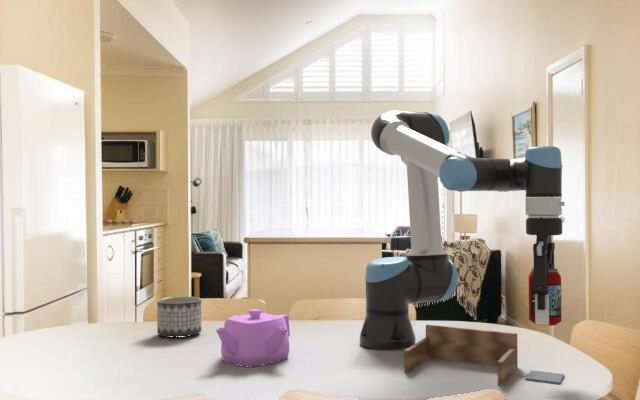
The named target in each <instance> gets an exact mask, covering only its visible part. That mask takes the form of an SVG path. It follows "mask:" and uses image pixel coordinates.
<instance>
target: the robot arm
mask: <svg viewBox="0 0 640 400" xmlns="http://www.w3.org/2000/svg"><path fill="white" fill-rule="evenodd" d="M370 129H371V131H370V134H371V135H370V136H371V140H372V142H373V144H374V146H375V147H376V149H377V148H378V149H379V150H380V151H381V152H383V153H385V154H387V155H390V156H399V157H400V160H401V162H402V163H404V165H405V166H406V174H407V178H406V179H407V193H408V197H407V198H408V209H409V211H408V212H409V214H408V215H409V228H410V229H409V232H410V250H409V251H408V252H407V253H406V254H405V256H392V257H391V256H388V257H387V256H386V257H382V258H380V257H379V258H376V259H373V260H370V261H369V262H368V263H367V264H366V268H365V276H364V280H365V319H364V321H363V324H362V328H361V330H360V331H361V332H360V334H359V344H360V346H362V347H364V348H368V349H372V350H380V351H381V350H382V351H398V350H399V351H400V350H406V349H408V348H409V347H411V346H412V345H414V344H416V334H415V331H414V328H413V325H412V323H411V319H410V313H409V310H410V309H409V304H418V303H428V302H431V303H432V302H433V303H436V302H438V301H439V302H440V301H444V300H447V299H449V298H450V297H451V296H452V295H453V294H454V293H455V291H456V288H457V286H458V281H459V279H458V278H459V275H458V270H457V267H456V266H455V265H456V264H455V263H454V262H453V261H452V259H451V260H450V259H449V255H448V253H449V252H447V251H446V250H445V249H444V248H443V245H442V244H443V243H442V230H441V229H442V228H441V213H440V212H441V211H440V210H441V209H440V197H439V182H440V183H441V184H442V186H443V187H444V188H445V189H446V190H447V191H456V192H461V193H462V192H477V191H478V192H501V193H502V192H505V193H506V192H516V191H520V192H521V191H525V215H526V216H528V217H527V218H526V219H525V233H526V234H527V235H529V236H536V241H535V243H533V247H532V250H533V252H532V254H533V268H534V280H533V291H531V294H535V325H537V324H538V325H537V326H543V325H549V294H548V270H549V268H554V269H555V249H556V247H555V246H556V245H555V242H553V241H552V240H553V239H552V236H561V235H562V234H563V219H562V218H560V216H562V214H563V211H562V210H563V209H562V207H564V206H566V205H565V204H566V203H565V201H562V200H563V199H562V195H563V193H562V192H563V191H562V189H563V188H562V187H563V186H562V183H563V182H562V181H563V180H562V179H563V163H562V152H561V149H560V148H559V147H557V146H552V145H551V146H550V145H549V146H547V145H546V146H545V145H544V146H543V145H542V146H530V147H527V148H525V153H524V154H525V155H524V157H521V158H520V157H519V158H495V157H494V158H490V157H489V158H488V157H487V158H486V157H474V156H471V155H470V156H469V155H467V154H465V153H462V152H461V151H458V150H456V149H454V148H452V147H450V146H448V144H449V142H450V131H449V127H448V124H447V122H446V121H445V120H444V119H443V118H442V116H440V115H438V114H436V113H430V112H426V111H425V112H422V111H421V112H419V111H404V110H403V111H402V110H389V111H386V112H384V113H382V114H380V115H379V116H378V117H377V118H376V119H375V120H374V122H373V123H372V126H371V128H370ZM438 178H439V179H438ZM438 180H439V181H438Z"/></svg>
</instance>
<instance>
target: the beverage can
mask: <svg viewBox="0 0 640 400" xmlns="http://www.w3.org/2000/svg"><path fill="white" fill-rule="evenodd" d="M533 280H534V267H532V268H531V271H530V273H529V275H528V318H529V319H528V320H529V321H530V322H532V323H533V324H535V294H531V291H533ZM548 294H549V325H542V326H544V327H546V326H547V327H551V326H552V327H553V326H556V325H558V324H560V323H561V322H562V276H561V274H560V273H559V269H558V268H555V267H554V268H549V270H548ZM535 325H537V326H539V325H538V324H535Z"/></svg>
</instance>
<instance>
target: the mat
mask: <svg viewBox="0 0 640 400" xmlns="http://www.w3.org/2000/svg"><path fill="white" fill-rule="evenodd" d="M564 377H565V374H564V373H557V372H548V371H541V370H530V371H529V373H528V374H527V375H526V377H525V381H531V382H539V383H545V384H553V383H554V385H561V383H562V381H563V380H564V379H563V378H564Z"/></svg>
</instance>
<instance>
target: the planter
mask: <svg viewBox="0 0 640 400" xmlns="http://www.w3.org/2000/svg"><path fill="white" fill-rule="evenodd" d="M156 302H157V303H156V311H157V312H156V315H157V317H156V319H157V321H156V322H157V324H156V325H157V329H156V330H157V331H156V333H157V334H158V335H160V336H163V337H166V336H173V337H176V336H177V337H178V336H188V335H192V336H193V335H197V334H199V333H201V331H202V298H200V297H196V296H172V297H171V296H170V297H163V298H160V299H158V300H157V301H156Z"/></svg>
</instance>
